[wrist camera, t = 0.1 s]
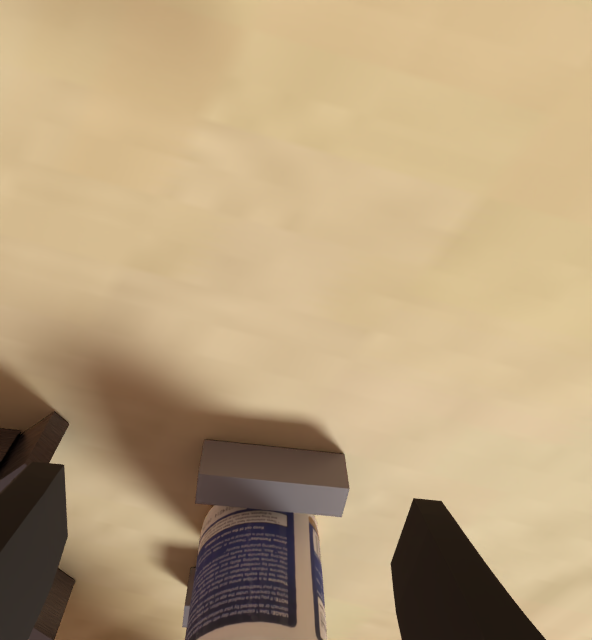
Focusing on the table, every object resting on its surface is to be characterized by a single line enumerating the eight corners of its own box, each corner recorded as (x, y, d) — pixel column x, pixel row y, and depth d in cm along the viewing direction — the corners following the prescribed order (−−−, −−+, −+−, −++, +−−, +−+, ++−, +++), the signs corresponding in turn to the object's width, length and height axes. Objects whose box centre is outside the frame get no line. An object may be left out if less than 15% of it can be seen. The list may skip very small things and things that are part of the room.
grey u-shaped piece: (306, 598, 29) (308, 636, 27) (188, 588, 28) (182, 627, 26) (344, 454, 24) (349, 488, 22) (204, 439, 24) (198, 473, 22)
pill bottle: (178, 530, 26) (130, 781, 18) (252, 464, 24) (237, 708, 16) (267, 579, 28) (262, 828, 19) (342, 521, 26) (372, 767, 18)
